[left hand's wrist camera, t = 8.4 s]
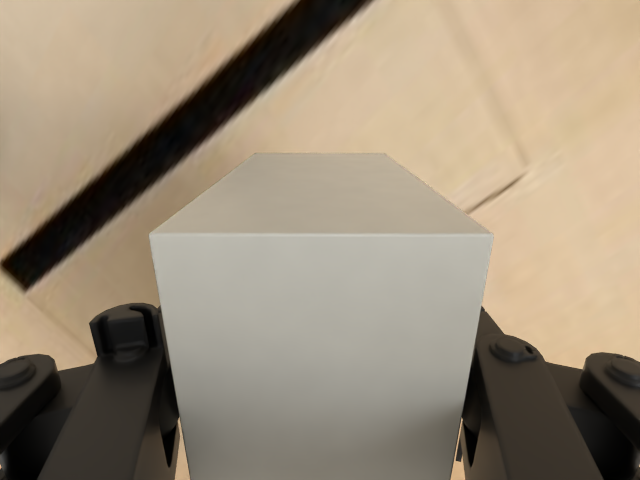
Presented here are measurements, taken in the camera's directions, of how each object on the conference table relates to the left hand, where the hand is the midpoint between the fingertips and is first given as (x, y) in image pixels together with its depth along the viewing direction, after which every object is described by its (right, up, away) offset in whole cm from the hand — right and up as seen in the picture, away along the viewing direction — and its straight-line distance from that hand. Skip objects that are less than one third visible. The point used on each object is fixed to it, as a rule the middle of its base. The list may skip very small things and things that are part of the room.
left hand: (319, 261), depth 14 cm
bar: (0, -8, +4) cm, 9 cm away
